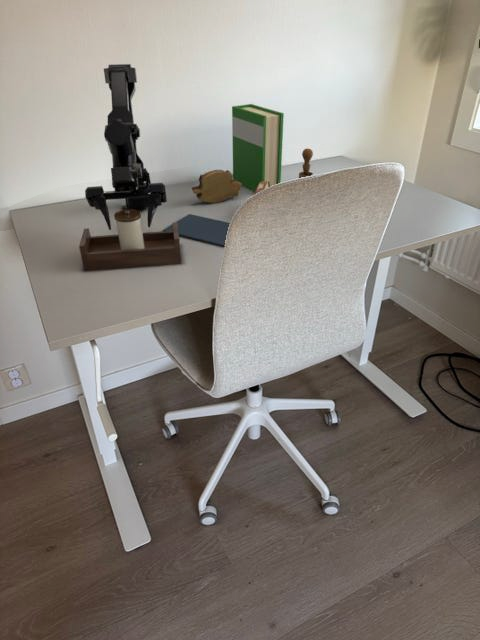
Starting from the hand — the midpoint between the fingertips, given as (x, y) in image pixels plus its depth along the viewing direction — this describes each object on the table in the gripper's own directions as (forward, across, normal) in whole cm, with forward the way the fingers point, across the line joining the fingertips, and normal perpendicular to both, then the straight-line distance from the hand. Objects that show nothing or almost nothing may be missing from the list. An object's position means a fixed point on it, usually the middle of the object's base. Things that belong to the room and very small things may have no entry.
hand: (129, 228), depth 112 cm
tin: (-11, +37, +22) cm, 44 cm away
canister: (+4, 0, +4) cm, 6 cm away
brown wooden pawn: (-11, +50, +22) cm, 56 cm away
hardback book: (-28, +40, +39) cm, 63 cm away
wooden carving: (-19, +25, +30) cm, 44 cm away
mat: (-4, +19, +15) cm, 25 cm away
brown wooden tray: (+6, 0, +6) cm, 8 cm away
